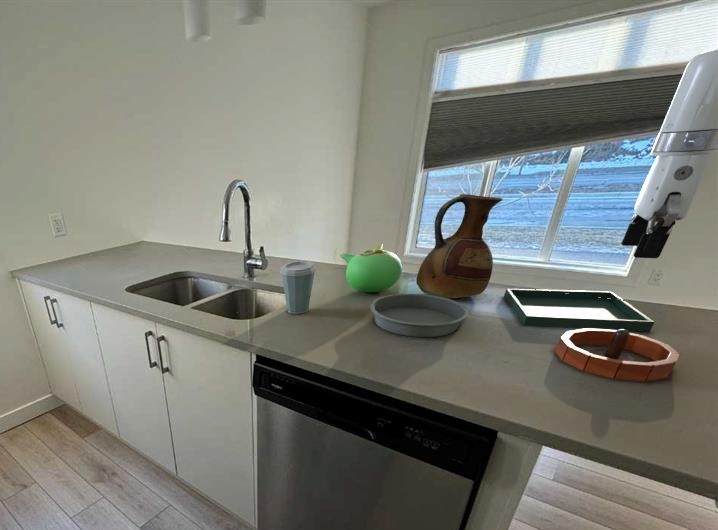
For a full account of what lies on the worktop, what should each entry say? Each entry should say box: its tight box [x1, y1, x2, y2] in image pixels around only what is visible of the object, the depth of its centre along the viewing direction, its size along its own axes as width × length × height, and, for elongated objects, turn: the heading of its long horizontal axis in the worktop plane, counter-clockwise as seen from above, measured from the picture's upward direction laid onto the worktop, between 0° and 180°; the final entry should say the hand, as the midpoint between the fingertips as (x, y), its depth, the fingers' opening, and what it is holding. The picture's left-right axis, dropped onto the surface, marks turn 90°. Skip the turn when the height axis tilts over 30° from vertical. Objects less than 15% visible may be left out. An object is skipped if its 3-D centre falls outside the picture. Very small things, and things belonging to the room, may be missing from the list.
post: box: [589, 329, 635, 362], centre depth 87 cm, size 7×7×7 cm
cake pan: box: [370, 293, 470, 338], centre depth 113 cm, size 25×25×4 cm
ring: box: [554, 328, 681, 382], centre depth 88 cm, size 18×18×4 cm
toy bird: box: [339, 243, 403, 293], centre depth 138 cm, size 18×17×15 cm
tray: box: [503, 288, 655, 333], centre depth 111 cm, size 26×24×3 cm
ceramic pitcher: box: [416, 193, 504, 300], centre depth 124 cm, size 20×20×30 cm
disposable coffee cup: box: [280, 259, 316, 315], centre depth 126 cm, size 11×11×15 cm
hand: (638, 251), depth 74 cm, fingers open, 9 cm apart
